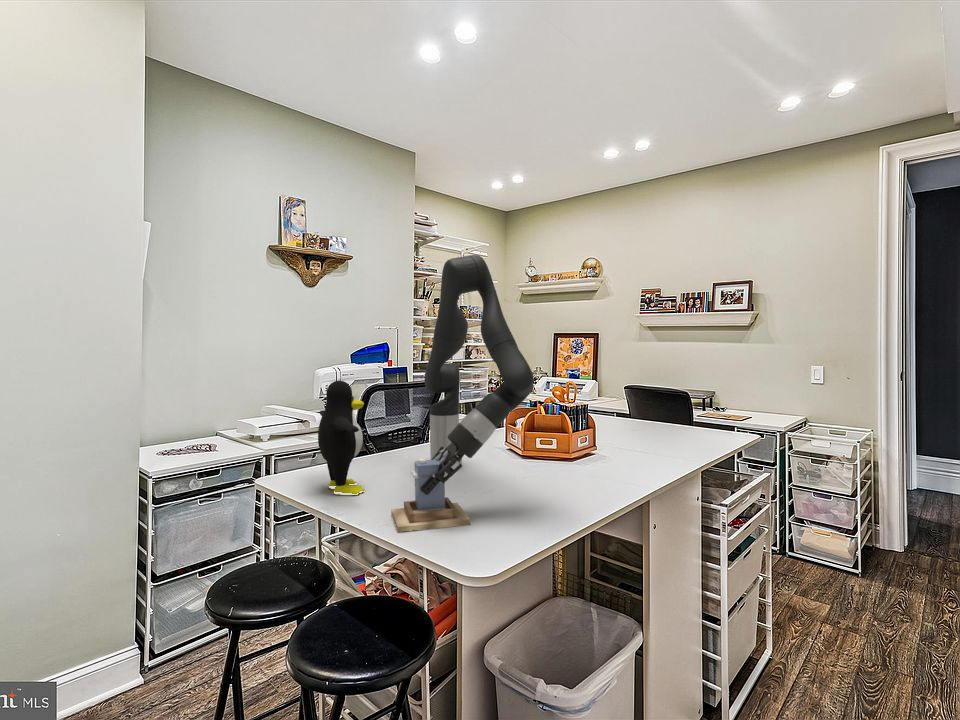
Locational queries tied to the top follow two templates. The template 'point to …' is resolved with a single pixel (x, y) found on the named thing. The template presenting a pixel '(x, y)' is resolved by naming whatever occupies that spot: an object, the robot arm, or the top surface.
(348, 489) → the toy
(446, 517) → the wooden fixture board
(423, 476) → the servo block
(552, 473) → the top surface
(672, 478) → the top surface
